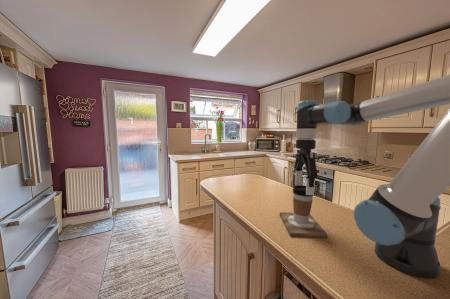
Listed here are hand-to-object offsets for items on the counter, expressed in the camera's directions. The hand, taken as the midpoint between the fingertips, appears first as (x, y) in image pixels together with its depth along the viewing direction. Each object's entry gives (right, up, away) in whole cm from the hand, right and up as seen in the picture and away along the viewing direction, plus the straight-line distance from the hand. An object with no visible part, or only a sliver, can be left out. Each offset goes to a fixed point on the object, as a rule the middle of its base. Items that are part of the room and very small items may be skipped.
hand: (303, 189), depth 80 cm
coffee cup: (0, -14, +2) cm, 14 cm away
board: (0, -16, +2) cm, 16 cm away
